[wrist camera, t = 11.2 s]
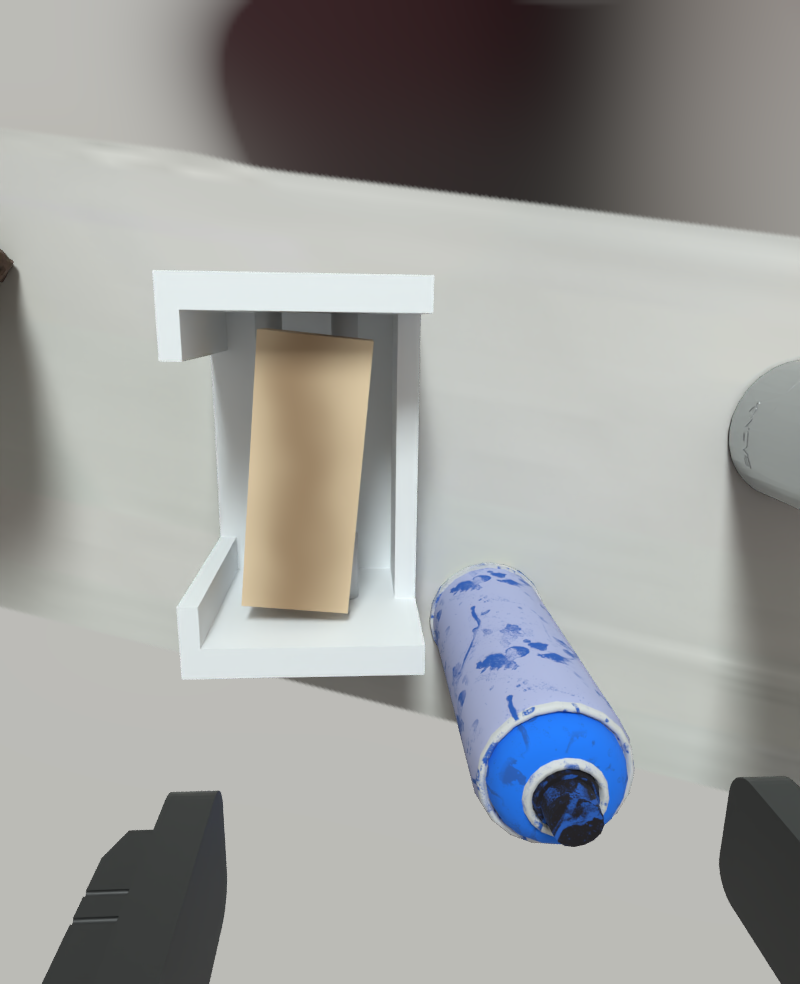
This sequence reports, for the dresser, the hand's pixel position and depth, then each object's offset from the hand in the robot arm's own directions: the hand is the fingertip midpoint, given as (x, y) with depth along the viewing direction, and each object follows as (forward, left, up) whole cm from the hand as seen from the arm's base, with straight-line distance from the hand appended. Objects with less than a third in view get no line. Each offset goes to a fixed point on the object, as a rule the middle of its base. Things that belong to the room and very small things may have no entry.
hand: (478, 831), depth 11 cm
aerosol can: (-7, +12, -34) cm, 37 cm away
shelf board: (+4, 0, -28) cm, 28 cm away
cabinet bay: (+5, 0, -34) cm, 34 cm away
